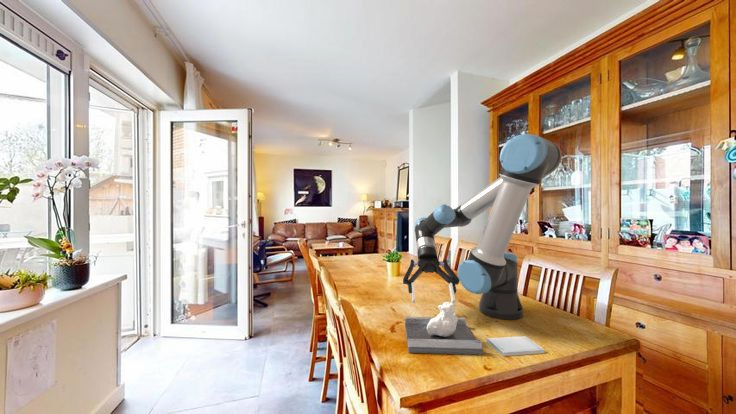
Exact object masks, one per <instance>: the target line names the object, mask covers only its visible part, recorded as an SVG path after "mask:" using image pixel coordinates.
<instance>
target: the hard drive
mask: <svg viewBox="0 0 736 414" xmlns="http://www.w3.org/2000/svg"><path fill="white" fill-rule="evenodd" d="M486 343H487V344H489V346H490V347H492V348H493V349H494V350H495V351H496V352H498V354H500V355H501V356H502V357H511V356H523V355H535V354H537V355H538V354H545V353H546V350H545V349H544V347H542V346H540V345H539V344H538V343H536V342H534V341H533V340H532V339H530V338H529V337H527V336H524V335H523V336H521V335H520V336H506V337H504V336H503V337H490V338H489V337H488V338H486Z"/></svg>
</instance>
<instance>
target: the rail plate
mask: <svg viewBox="0 0 736 414" xmlns="http://www.w3.org/2000/svg"><path fill="white" fill-rule="evenodd" d="M435 317H436V316H404V327H405V335H406V344H407V351H408V354H435V355H436V354H438V355H441V354H442V355H469V356H471V355H473V356H474V355H475V356H477V355H478V356H483V354H484V351H483V343H482V341H481V340H477V339H476V338H475V337H474V335H473V333H472V332H471V331H470V329H469V328H468V326H467V319H466V318H465V317H457V319H458V321H457V325H456V330H455V331H454V333H453V334H452V335H450V336H447V337H443V336H439V335H430V334H428V332H427V325H428V323H429V321H430V320H431V319H432V318H435Z"/></svg>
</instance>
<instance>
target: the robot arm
mask: <svg viewBox="0 0 736 414" xmlns="http://www.w3.org/2000/svg"><path fill="white" fill-rule="evenodd" d="M562 154H563V153H562V150H561V149H560V146H559V145H558V144H556V143H555V142H553V141H551V140H549V139H546V138H544V137H542V136H540V135H536V134H531V133H530V134H529V133H524V134H523V133H522V134H518V135H514V137H512V138H510V139H509V140H508V141H506V142H505V143H504V144H503V146H502V148H501V150H500V153H499V162H500V164H501V168H500V171H499V176H500V177H497V179H496V180H493V181H492V182H491V183H489V184H488V185H487V186H486V187H484V188H482V189H481V190H480V191H479V192H477V193H475V194H474V195H473V196H470V197H469V199H467V200H466V201H464V202H462V203H461V205H458V206H457V207H455V208H454V209H453V208H452V207H451V206H450V205H447V204H444V203H443V204H440V205H439V206H438V207H437V208H435V209H434V210H433V211H432V212H431V213H430V214H429V215H428V216H427V217H425V216H423V217H420V218H417V220H415V222H414V233H415V241H416V243H415V244H416V253H417V261H416V260H414V259H410V265H409V267H408V269H407V270H406V273H405V275H404V277H402V278H403V280H402V283H403V285H407V289H408V290H407V291H408V294H411V300H412V301H411V303H412V304H416V303H415V302H416V295H415V294H416V293H415V283H414V282H415V281H416V280H417V279H418V278H419V277H420V276H421V275H422V274H423V272H424V273H425V274H428V273H431V274H434V273H435V274H436V275H438V276H440V277H441V278H442V280H444V281H445V282H447V284H448V290H449V295H450V302H452V303H453V304H454V305H455V302H456V297H455V296H456V294H457V287H456V285H459V283H460V284H461V286H462V287H463V288H464V289H465V290H466V291H468V292H469V293H471V294H475V295H481V297H480V300H479V303H478V310H479V311H480V312H481V313H482V314H483V315H485V316H489V317H491V318H494V319H501V320H511V321H512V320H518V319H519V320H520V319H522V318H523V317H524V308H523V305H522V302H521V299H520V296H519V294H518V293H519V292H518V290H519V289H518V264H519V262H518V256H517V254H515V253H513V252H508V251H507V249H508V246H509V245H510V244H509V243H510V241H511V240H512V236H513V235H514V231H515V229H516V227H517V224H518V222H519V220H520V218H521V215H522V213H523V210H524V208H525V206H526V203H527V202H528V201H527V200H528V199H529V197H530V196H529V195H530V193H531V191H532V189H533V188H536V187H538V186H540V184H541V182H542V179H544V178H547V176H549V175H551V174H552V173H553V172H554V171H556V169H558V167H559V166H560V164H561V161H562ZM489 209H491V210H490V212H489V215H488V218H487V220H486V222H485V225H484V229H483V230H482V233H481V234H480V235H481V236H480V238H479V241H478V244H477V246H475V247H472V248H471V249H470V251H469V255H468V256H467V259H466V260H464V261H462V262H460V264H459V265H458V268H457V274H456V272H454V271H453V269H452V268H451V266H450V264H449V263H448V261H447V259H443V260H440V261H439V259H438V253H437V252H438V251H437V247H436V242H435V236H436V235H437V234H438V233H439V232H441V231H442V230H444V229H445V228H446V229H448V228H458V227H459V228H460V227H461V228H462V227H465V226H468V225H470V223H471V222H472V221H473V219H475V218H477V217H478V216H479V215H481V214H482V213H484V212H486V211H487V210H489ZM506 251H507V252H506ZM416 266H417V267H418V269H417V270H416V271H415V272H414V273H413V274H412V272H413V270H414V268H415V267H416ZM441 267H442V268H443V269H444V270H443V269H442V268H441ZM411 274H412V275H411Z"/></svg>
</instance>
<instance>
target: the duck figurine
mask: <svg viewBox="0 0 736 414" xmlns="http://www.w3.org/2000/svg"><path fill="white" fill-rule="evenodd" d="M437 309H438V310H439V314H437V315H436V316H434V317H435V318H432V319H431V320H430V321H429V323H428V325H427V332H428V334H430V335H439V336H443V337H447V336H450V335H452V334H453V333H454V331H455V330H456V325H457V321H458V319H457V318H458V316H457V314H456V313H455V312H456V308H455V303H454V304H453V303H452V301H450V302H449V301H445V302H443V303H442V304H439V305H438V306H437Z"/></svg>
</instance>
